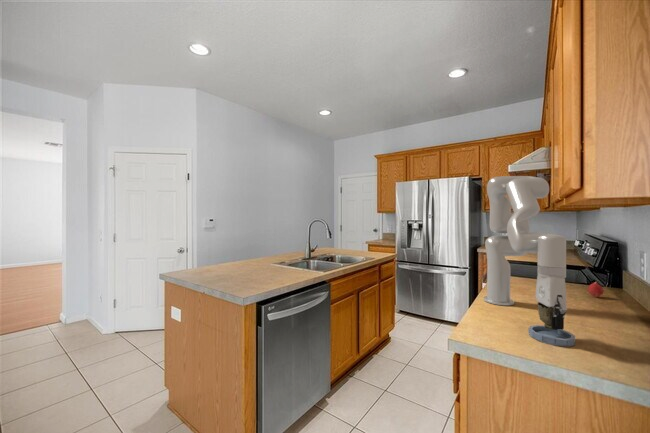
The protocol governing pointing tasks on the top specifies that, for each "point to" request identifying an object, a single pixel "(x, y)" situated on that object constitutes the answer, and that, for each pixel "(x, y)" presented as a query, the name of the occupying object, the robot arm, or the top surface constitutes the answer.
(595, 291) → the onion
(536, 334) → the dish
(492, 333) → the top surface
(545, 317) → the cup
